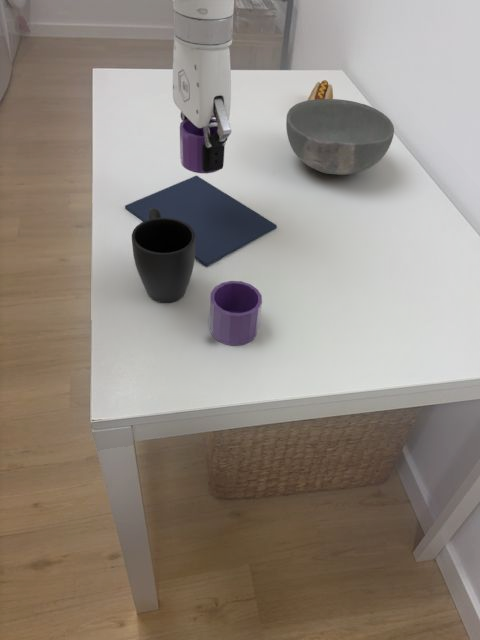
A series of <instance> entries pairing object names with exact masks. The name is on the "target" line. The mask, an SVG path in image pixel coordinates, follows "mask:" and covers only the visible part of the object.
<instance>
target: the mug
mask: <svg viewBox="0 0 480 640" xmlns="http://www.w3.org/2000/svg"><path fill="white" fill-rule="evenodd" d="M131 246H132V254H133V260H134V265H135V267H136V272H137V273H138V275H139V279H140V281H141V283H142V285H143V287H144V289H145V291H146V293H147V295H148V297H149V298H150V299H152V300H153V301H155V302H158V303H164V304H169V303H175V302H177V301H179V300H181V299H182V298H183V297H184V296H185V295H186V292H187V289H188V286H189V283H190V281H191V278H192V275H193V270H194V267H195V261H196V259H195V233H194V231H193V229H192V228H191V227H190V226H189V225H188V224H186V223H185V222H182V221H180V220H177V219H173V218H161V215H160V211H159V210H158V209H157V208H151V209H149V220H146V221H144V222H143V221H142V222H140V223H139V224H137V225H136V226H135V228H134V229H132V233H131Z"/></svg>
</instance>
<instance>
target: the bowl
mask: <svg viewBox="0 0 480 640" xmlns="http://www.w3.org/2000/svg"><path fill="white" fill-rule="evenodd" d="M285 122H286V123H285V125H286V126H285V127H286V135H287V139H288V143H289V145H290V148H291V149H292V151H293V153H294V154H295V156H296V157H297V158H298V159H299V160H300V162H302V163H304V165H307V166H308V167H309V168H311V169H313V170H315V171H317V172H320V173H323V174H327V175H338V176H343V175H344V176H345V175H346V176H347V175H352V174H358V173H361V172H364V171H366V170H368V169H370V168H372V167H375V165H377V164H378V163H379V162H380V161H381V160H382V159H383V158H384V157H385V155H386V154H387V152H388V150H389V149H390V147H391V144H392V142H393V139H394V134H395V127H394V124H393V122H392V120H391V119H390V118H389V117H388V116H387V115H386V114H384V113H383V112H382V111H380V110H378V109H376V108H375V107H373V106H370V105H367V104H364V103H361V102H357V101H353V100H348V99H340V98H339V99H338V98H333V99H316V100H308V99H307V100H304V101H300V102H298V103H295V104H294V105H293V106H291V108H289V109H288V111H287V114H286V121H285Z"/></svg>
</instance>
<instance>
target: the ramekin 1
mask: <svg viewBox="0 0 480 640" xmlns="http://www.w3.org/2000/svg"><path fill="white" fill-rule="evenodd" d="M212 122H216V119H215V118H211V119H210V121H209V123H212ZM209 130H210V136H212V135H213V134H214V133H216V132H217V127H211V128H209ZM202 145H205V140H204V134H203V128H198V127H196V126H195V125H194V124H193V123H192V122H191V121H190V120H189V119H185V120H183V121H182V120H181V122H180V123H179V148H180V149H179V157H180V158H179V159H180V164H181V166H182V167H183V168H184V169H185V170H187V171H189V172H192V173H196V174H212V173H216V172H219V170H215V171H209V172H204V171H203V170H202ZM225 146H226V144H225V145H224V150H225V148H226V147H225ZM223 166H225V157H224V158H223Z"/></svg>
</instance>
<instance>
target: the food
mask: <svg viewBox="0 0 480 640" xmlns="http://www.w3.org/2000/svg"><path fill="white" fill-rule="evenodd" d="M316 99H334V91H333V85H332V84H331V83H329V82H328V81H327V80H326V79H324V80H322V81H321V82H320V81H317V82H316V83H315V85H314V87H313V89H312V90H311V92H310V95H309V97H308V99H307V101H308V100H316Z"/></svg>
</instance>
